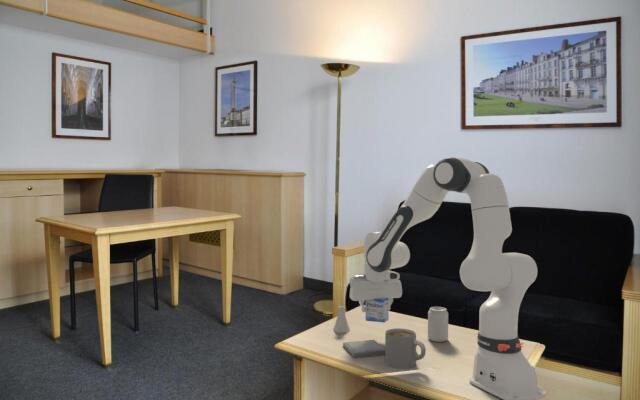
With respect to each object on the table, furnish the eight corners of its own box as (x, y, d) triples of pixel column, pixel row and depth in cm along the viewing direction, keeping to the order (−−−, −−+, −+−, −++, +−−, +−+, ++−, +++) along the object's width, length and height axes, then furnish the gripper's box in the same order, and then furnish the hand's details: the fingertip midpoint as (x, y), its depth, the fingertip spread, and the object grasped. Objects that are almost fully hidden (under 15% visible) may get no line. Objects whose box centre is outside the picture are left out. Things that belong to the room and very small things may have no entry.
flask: (349, 335, 195) (349, 309, 195) (331, 334, 197) (331, 309, 196) (351, 330, 202) (351, 305, 202) (334, 329, 204) (333, 304, 203)
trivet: (387, 354, 174) (387, 350, 173) (354, 357, 170) (354, 353, 170) (374, 343, 185) (374, 339, 185) (343, 346, 182) (343, 342, 182)
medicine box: (365, 320, 190) (364, 298, 190) (369, 318, 194) (369, 295, 194) (385, 322, 187) (384, 299, 187) (389, 320, 191) (388, 297, 191)
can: (446, 336, 193) (446, 306, 193) (449, 343, 186) (449, 311, 185) (426, 336, 194) (426, 305, 194) (428, 342, 187) (429, 310, 186)
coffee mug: (379, 362, 166) (379, 332, 165) (397, 355, 173) (397, 326, 172) (413, 373, 156) (413, 341, 156) (430, 365, 163) (431, 334, 163)
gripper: (352, 277, 185) (353, 314, 185) (403, 274, 190) (404, 310, 190) (347, 274, 191) (347, 311, 191) (396, 271, 196) (397, 307, 196)
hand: (376, 310), depth 191 cm, fingers closed on medicine box, 8 cm apart
